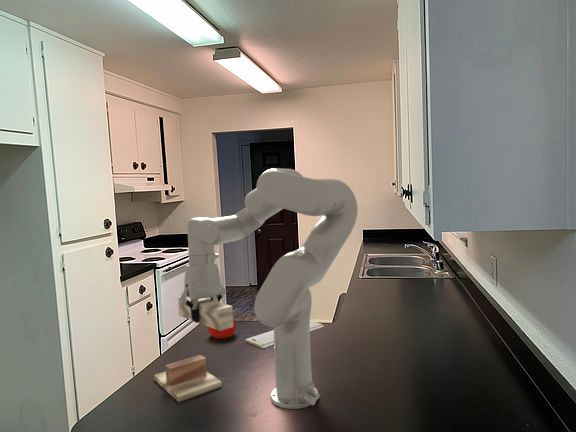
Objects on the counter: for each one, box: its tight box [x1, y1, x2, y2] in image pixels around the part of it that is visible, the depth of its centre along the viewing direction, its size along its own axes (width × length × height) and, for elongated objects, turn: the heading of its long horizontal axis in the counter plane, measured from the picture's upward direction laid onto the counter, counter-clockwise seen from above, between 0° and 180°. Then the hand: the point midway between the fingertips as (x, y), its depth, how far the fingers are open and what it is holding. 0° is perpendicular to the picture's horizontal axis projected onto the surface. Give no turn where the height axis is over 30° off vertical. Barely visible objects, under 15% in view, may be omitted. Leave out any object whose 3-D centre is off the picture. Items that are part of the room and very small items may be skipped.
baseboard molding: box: [244, 320, 325, 350], centre depth 162 cm, size 31×3×12 cm
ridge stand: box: [153, 354, 223, 403], centre depth 124 cm, size 18×13×6 cm
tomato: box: [207, 318, 237, 340], centre depth 163 cm, size 11×11×8 cm
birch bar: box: [177, 295, 234, 331], centre depth 127 cm, size 22×4×6 cm, turn 45°
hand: (204, 318), depth 127 cm, fingers closed on birch bar, 5 cm apart
